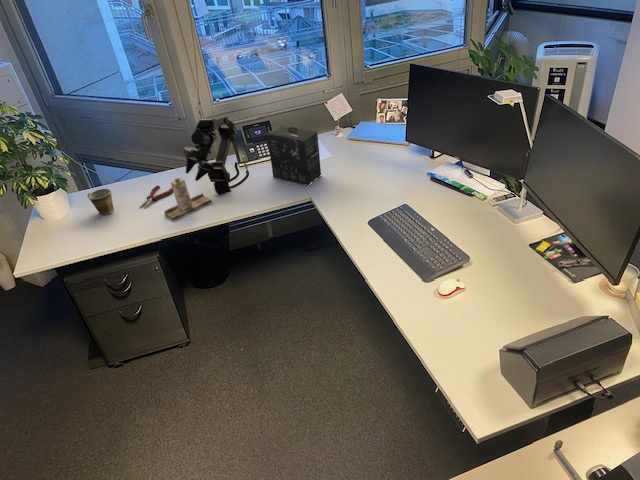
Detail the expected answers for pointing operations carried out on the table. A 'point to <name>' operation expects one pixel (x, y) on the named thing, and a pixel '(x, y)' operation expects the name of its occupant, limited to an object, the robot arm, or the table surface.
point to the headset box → (294, 154)
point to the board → (196, 202)
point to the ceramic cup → (102, 201)
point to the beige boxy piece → (181, 193)
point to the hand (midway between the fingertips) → (191, 177)
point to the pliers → (157, 197)
